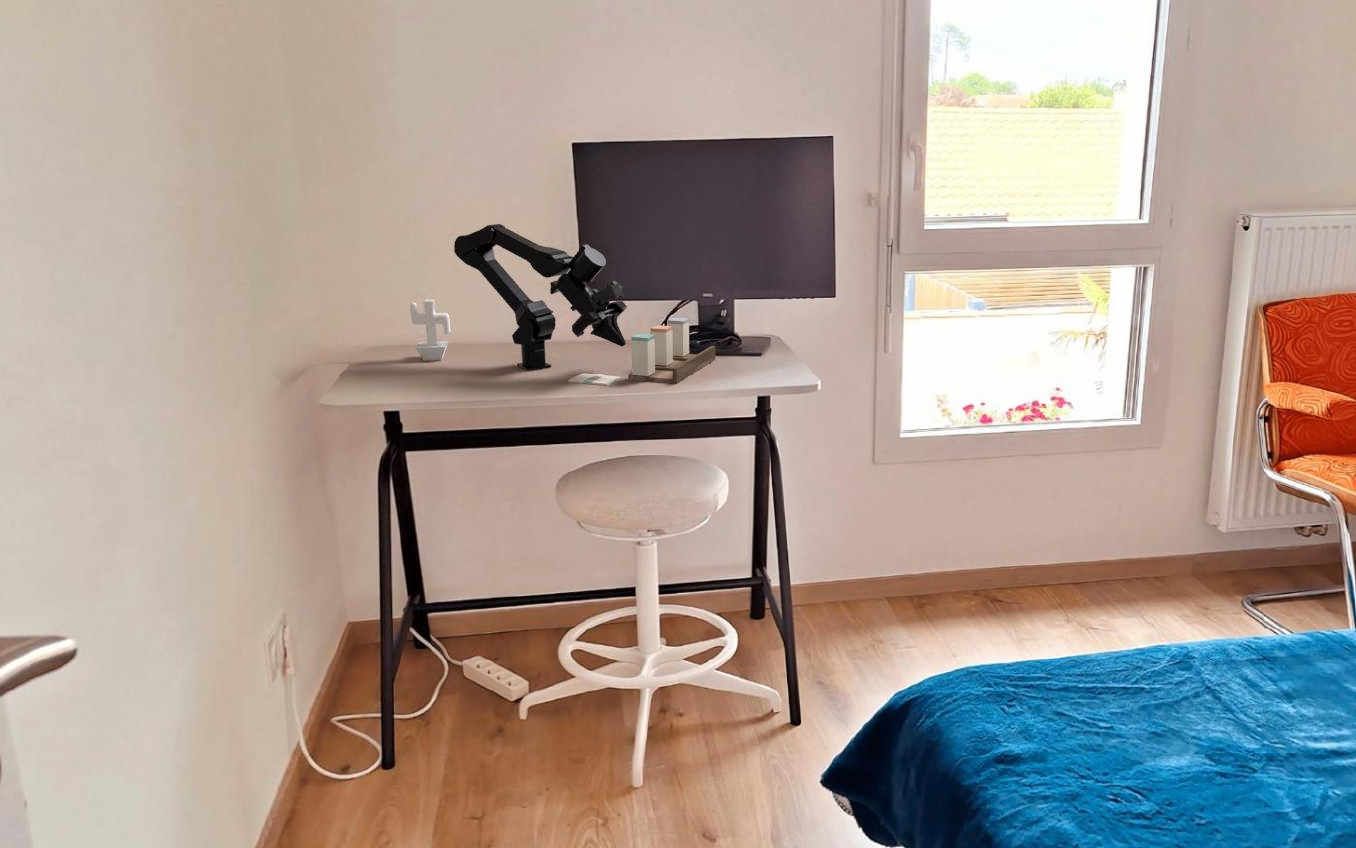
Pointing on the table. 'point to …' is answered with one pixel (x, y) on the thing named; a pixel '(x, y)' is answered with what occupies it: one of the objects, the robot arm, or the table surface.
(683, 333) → the grey topped white block
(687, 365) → the brown divided rack
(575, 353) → the table surface
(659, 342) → the peach block
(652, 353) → the white tall block
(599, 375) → the pattern card
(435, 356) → the figurine
